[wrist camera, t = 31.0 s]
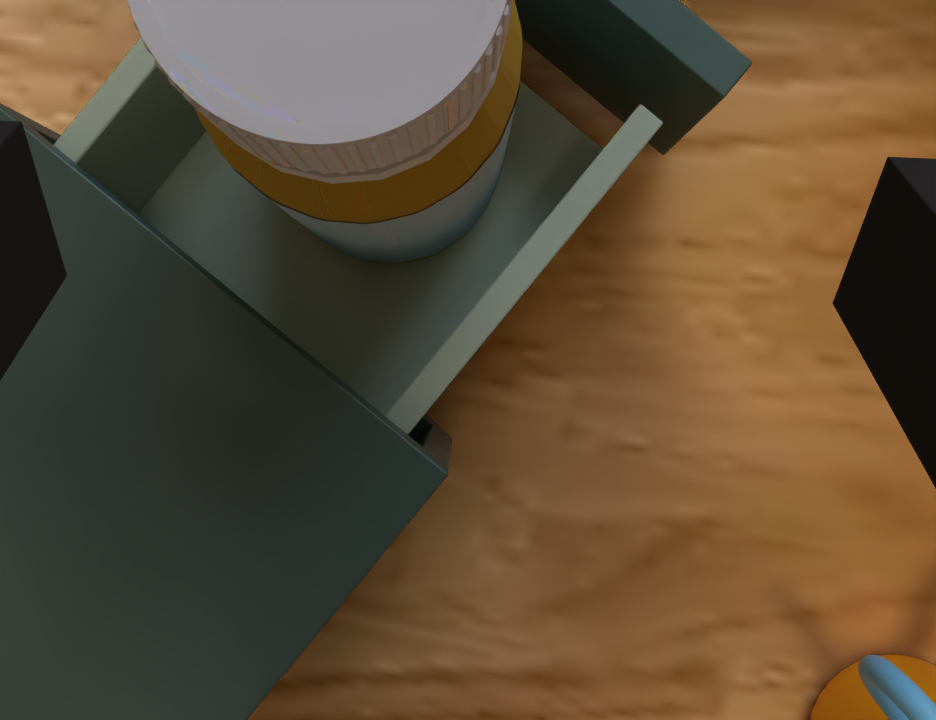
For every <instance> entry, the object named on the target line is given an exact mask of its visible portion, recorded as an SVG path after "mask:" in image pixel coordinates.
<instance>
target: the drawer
mask: <svg viewBox="0 0 936 720" xmlns="http://www.w3.org/2000/svg"><path fill="white" fill-rule="evenodd" d="M515 4H516V8H517V12H518V16H519V21H520V25H521V29H522V39H523V40H525V41H526V42H527V43H528V44H529V45H531V46H532V47H533V48H534V49H535V50H537V51H538V52H539V53H540V54H541V55H543V56H544V57H545V58H546V59H548V60H549V61H550V62H551V63H552V64H554V65H555V66H556V67H557V68H558V69H560V70H561V71H562V72H563V73H564V74H566V75H567V76H568V77H569V78H570V79H572V80H573V81H574V82H575V83H576V84H578V85H579V86H580V87H581V88H583V89H584V90H585V91H586V92H587V93H589V94H590V95H591V96H592V97H593V98H595V99H596V100H597V101H598V102H599V103H601V104H602V105H603V106H604V107H605V108H607V109H608V110H609V111H610V112H611V113H613V114H614V115H615V116H616V117H618V118H619V119H620V120H621V121H622V122H624V124H623V125H622V127H621V128H620V129H619V130H618V131H617V133H616V134H615V135H614V136H613V138H612V139H611V140H610V141H609V142H608V144H607V145H606V146H605V147H604V148H602V147H601V146H599V145H598V144H597V143H596V142H595V141H593V140H592V139H591V138H590V137H589V136H587V135H586V134H585V133H584V132H582V131H581V130H580V129H579V128H578V127H576V126H575V125H574V124H573V123H572V122H570V121H569V120H568V119H567V118H566V117H564V116H563V115H562V114H561V113H560V112H558V111H557V110H556V109H555V108H553V107H552V106H551V105H550V104H549V103H547V102H546V101H545V100H544V99H543V98H541V97H540V96H539V95H538V94H537V93H535V92H534V91H533V90H532V89H531V88H529V87H528V86H527V85H526V84H524V83H523V82H522V81H521V80H520V88H519V94H518V98H517V103H516V107H515V111H514V116H513V120H512V124H511V129H510V133H509V137H508V142H507V146H506V150H505V154H504V159H503V163H502V167H501V172H500V176H499V180H498V183H497V185H496V187H495V190H494V192H493V195H492V197H491V200H490V202H489V204H488V206H487V208H486V210H485V211H484V213H483V215H482V216H481V217H480V218H479V220H478V221H477V222H476V223H475V224H474V225H473V227H472V228H471V229H470V230H469V231H468V232H467V234H466V235H465V236H463V237H462V238H461V239H460V240H459V241H457V242H455V243H454V244H452V245H451V246H449V247H447V248H446V249H444V250H443V251H441V252H439V253H438V254H435V255H433V256H431V257H428V258H424V259H419V260H415V261H411V262H407V263H400V264H390V263H377V262H368V261H364V260H360V259H358V258H356V257H353V256H351V255H348V254H346V253H343V252H341V251H338V250H336V249H334V248H332V247H331V246H329V245H327V244H326V243H325V242H323V241H322V240H321V239H319V238H318V237H317V236H316V235H314V234H313V233H312V232H310V231H309V230H308V229H307V228H305V227H304V226H303V225H301V224H300V223H299V222H298V221H296V220H295V219H294V218H292V217H291V216H290V215H289V214H287V213H286V212H285V211H284V210H282V209H281V208H280V207H278V206H277V205H276V204H275V203H273V202H272V201H271V200H269V199H268V198H267V197H266V196H264V195H263V194H262V193H261V192H260V191H258V190H257V189H256V188H255V187H254V186H253V185H251V184H250V183H249V182H248V181H247V180H245V179H244V178H243V177H242V176H241V175H240V174H238V173H237V172H236V171H235V170H234V169H233V167H232V166H231V165H230V164H229V163H228V162H227V161H226V160H225V158H224V157H223V156H222V155H221V154H220V152H219V150H218V149H217V147H216V145H215V144H214V142H213V141H212V139H211V137H210V136H209V134H208V133H207V131H206V129H205V128H204V126H203V125H202V123H201V121H200V119H199V117H198V114H197V112H196V110H195V107H194V106H193V105H192V104H190V103H189V102H188V101H187V100H186V99H185V98H184V96H183V95H182V94H181V93H180V92H179V91H178V90H177V89H175V88H174V87H173V86H172V85H171V83H170V82H169V81H168V77H167V76H166V75H165V74H164V73H163V72H162V71H161V70H160V69H159V68H158V67H157V65H156V64H155V57H154V56H153V55H152V54H151V53H150V52H149V51H147V49H146V47H145V46H144V39H143V37H141V38H140V39H139V41H138V42H137V43H136V44H135V46H134V47H133V48H132V49H131V50H130V52H129V53H128V54H127V55H126V57H125V58H124V59H123V60H122V62H121V63H120V64H119V65H118V66H117V68H116V69H115V70H114V71H113V73H112V74H111V75H110V76H109V77H108V79H107V80H106V81H105V82H104V84H103V85H102V86H101V87H100V88H99V90H98V91H97V92H96V93H95V95H94V96H93V97H92V98H91V100H90V101H89V102H88V103H87V104H86V106H85V107H84V108H83V109H82V111H81V112H80V113H79V114H78V115H77V117H76V118H75V119H74V120H73V122H72V123H71V124H70V125H69V127H68V128H67V129H66V130H65V131H64V133H63V134H62V135H61V136H60V138H59V139H58V140H57V141H56V142H55V144H54V146H55V147H56V148H58V149H59V150H60V151H61V152H63V153H64V154H65V155H66V156H67V157H69V158H70V159H71V160H72V161H74V162H75V163H76V164H77V165H78V166H80V167H81V168H82V169H83V170H85V171H86V172H87V173H88V174H89V175H91V176H92V177H93V178H94V179H96V180H97V181H98V182H99V183H100V184H102V185H103V186H104V187H105V188H107V189H108V190H109V191H110V192H111V193H113V194H114V195H115V196H116V197H118V198H119V199H120V200H121V201H122V202H124V203H125V204H126V205H127V206H129V207H130V208H131V209H132V210H133V211H135V212H136V213H137V214H138V215H140V216H141V217H142V218H143V219H144V220H146V221H147V222H148V223H149V224H151V225H152V226H153V227H154V228H155V229H157V230H158V231H159V232H160V233H162V234H163V235H164V236H165V237H166V238H168V239H169V240H170V241H171V242H173V243H174V244H175V245H176V246H177V247H179V248H180V249H181V250H182V251H184V252H185V253H186V254H187V255H188V256H190V257H191V258H192V259H193V260H195V261H196V262H197V263H198V264H199V265H201V266H202V267H203V268H204V269H206V270H207V271H208V272H209V273H211V274H212V275H213V276H214V277H215V278H217V279H218V280H219V281H220V282H222V283H223V284H224V285H225V286H226V287H228V288H229V289H230V290H231V291H233V292H234V293H235V294H236V295H237V296H239V297H240V298H241V299H242V300H244V301H245V302H246V303H247V304H248V305H250V306H251V307H252V308H253V309H255V310H256V311H257V312H258V313H259V314H261V315H262V316H263V317H264V318H266V319H267V320H268V321H269V322H270V323H272V324H273V325H274V326H275V327H277V328H278V329H279V330H280V331H281V332H283V333H284V334H285V335H286V336H288V337H289V338H290V339H291V340H292V341H294V342H295V343H296V344H297V345H299V346H300V347H301V348H302V349H303V350H305V351H306V352H307V353H308V354H310V355H311V356H312V357H313V358H314V359H316V360H317V361H318V362H319V363H321V364H322V365H323V366H324V367H325V368H327V369H328V370H329V371H330V372H332V373H333V374H334V375H335V376H336V377H338V378H339V379H340V380H341V381H343V382H344V383H345V384H346V385H347V386H349V387H350V388H351V389H352V390H354V391H355V392H356V393H357V394H359V395H360V396H361V397H362V398H363V399H365V400H366V401H367V402H368V403H370V404H371V405H372V406H373V407H374V408H376V409H377V410H378V411H379V412H381V413H382V414H383V415H384V416H385V417H387V418H388V419H389V420H390V421H392V422H393V423H394V424H395V425H396V426H398V427H399V428H400V429H401V430H403V431H404V432H405V433H406V434H407V435H408V434H409V433H410V432H411V430H412V429H413V428H414V427H415V426H416V424H417V423H418V422H419V421H420V419H421V418H422V417H423V416H424V415H425V413H426V412H427V411H428V410H429V408H430V407H431V406H432V405H433V404H434V402H435V401H436V400H437V399H438V398H439V396H440V395H441V394H442V393H443V391H444V390H445V389H446V388H447V387H448V385H449V384H450V383H451V382H452V380H453V379H454V378H455V377H456V376H457V374H458V373H459V372H460V371H461V369H462V368H463V367H464V366H465V365H466V363H467V362H468V361H469V360H470V359H471V357H472V356H473V355H474V354H475V352H476V351H477V350H478V349H479V348H480V346H481V345H482V344H483V343H484V341H485V340H486V339H487V338H488V337H489V335H490V334H491V333H492V332H493V330H494V329H495V328H496V327H497V326H498V324H499V323H500V322H501V321H502V320H503V318H504V317H505V316H506V315H507V313H508V312H509V311H510V310H511V309H512V307H513V306H514V305H515V304H516V302H517V301H518V300H519V299H520V298H521V296H522V295H523V294H524V293H525V291H526V290H527V289H528V288H529V287H530V285H531V284H532V283H533V282H534V281H535V279H536V278H537V277H538V276H539V274H540V273H541V272H542V271H543V270H544V268H545V267H546V266H547V265H548V263H549V262H550V261H551V260H552V259H553V257H554V256H555V255H556V254H557V252H558V251H559V250H560V249H561V248H562V246H563V245H564V244H565V243H566V242H567V240H568V239H569V238H570V237H571V235H572V234H573V233H574V232H575V231H576V229H577V228H578V227H579V226H580V224H581V223H582V222H583V221H584V220H585V218H586V217H587V216H588V215H589V213H590V212H591V211H592V210H593V209H594V207H595V206H596V205H597V204H598V203H599V201H600V200H601V199H602V198H603V196H604V195H605V194H606V193H607V192H608V190H609V189H610V188H611V187H612V185H613V184H614V183H615V182H616V181H617V179H618V178H619V177H620V176H621V174H622V173H623V172H624V171H625V170H626V168H627V167H628V166H629V165H630V164H631V162H632V161H633V160H634V159H635V157H636V156H637V155H638V154H639V153H640V151H641V150H642V149H643V148H644V146H645V145H646V144H647V143H649V144H650V145H651V146H653V147H654V148H655V149H656V150H657V151H659V152H660V153H661V154H662V155H664V154H665V153H667V152H668V151H669V150H670V149H671V148H672V147H673V146H674V145H675V144H676V143H677V142H678V141H679V140H680V139H681V138H682V137H683V136H684V135H685V134H687V133H688V132H689V131H690V130H691V129H692V128H693V127H694V126H695V125H696V124H697V123H698V122H699V121H700V120H701V119H702V118H703V117H704V116H705V115H707V114H708V113H709V112H710V111H711V110H712V109H713V108H714V107H715V106H716V105H717V104H718V103H719V102H720V101H721V100H722V99H723V98H724V97H725V96H726V95H727V94H728V93H729V92H730V90H731V89H732V88H733V87H734V85H735V84H736V83H737V82H738V81H739V79H740V78H741V77H742V76H743V74H744V73H745V72H746V71H747V70H748V68H749V67H750V66H751V65H752V62H751V61H750V60H749V59H748V58H747V57H746V56H744V55H743V54H742V53H741V52H739V51H738V50H737V49H736V48H735V47H733V46H732V45H731V44H730V43H729V42H727V41H726V40H725V39H724V38H723V37H721V36H720V35H719V34H718V33H717V32H715V31H714V30H713V29H712V28H711V27H709V26H708V25H707V24H706V23H705V22H703V21H702V20H701V19H700V18H699V17H697V16H696V15H695V14H694V13H693V12H691V11H690V10H689V9H688V8H687V7H685V6H684V5H683V4H682V3H681V2H679V1H678V0H515Z"/></svg>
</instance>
